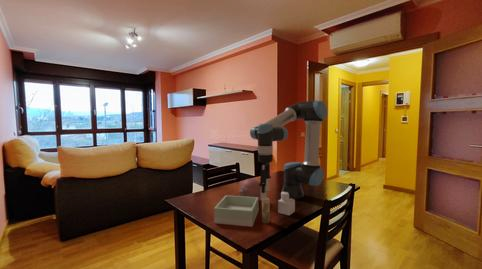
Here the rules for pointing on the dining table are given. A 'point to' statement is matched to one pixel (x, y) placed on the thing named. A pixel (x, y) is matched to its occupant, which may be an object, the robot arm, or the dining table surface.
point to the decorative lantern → (250, 188)
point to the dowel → (266, 210)
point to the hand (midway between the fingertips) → (265, 194)
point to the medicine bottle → (286, 203)
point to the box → (236, 210)
